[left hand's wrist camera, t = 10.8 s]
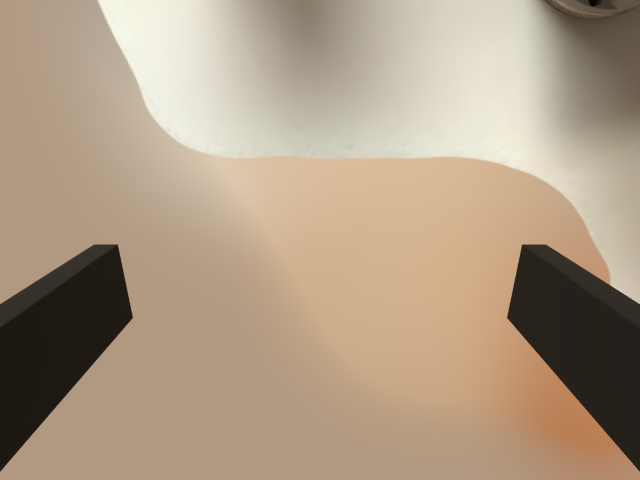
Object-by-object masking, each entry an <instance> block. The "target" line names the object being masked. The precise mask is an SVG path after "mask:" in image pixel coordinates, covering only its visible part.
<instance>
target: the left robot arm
mask: <svg viewBox="0 0 640 480" xmlns="http://www.w3.org/2000/svg"><path fill="white" fill-rule="evenodd" d="M547 1H548V2H549V3H550V4H552V5H553V6H554V7H555V8H557V9H558V10H560V11H562V12H564V13H566V14H569V15H571V16H575V17H580V18H601V17H606V16H610V15H614V14H617V13H621V12H624V11H627V10H630V9H633V8H635V7H637V6H640V0H547ZM132 318H133V316H132V311H131V306H130V302H129V297H128V292H127V287H126V282H125V277H124V273H123V268H122V263H121V258H120V253H119V248H118V245H93V246H91V247H90V248H88V249H86V250H85V251H83V252H82V253H80V254H79V255H77V256H75V257H74V258H72V259H71V260H69V261H68V262H66V263H64V264H63V265H61V266H60V267H58V268H57V269H55V270H53V271H52V272H50V273H49V274H47V275H46V276H44V277H42V278H41V279H39V280H38V281H36V282H35V283H33V284H31V285H30V286H28V287H27V288H25V289H24V290H22V291H20V292H19V293H17V294H16V295H14V296H12V297H11V298H9V299H8V300H6V301H5V302H3V303H2V304H0V471H1V470H2V469H3V468H4V467H5V465H6V464H7V463H8V462H9V461H10V460H11V458H12V457H13V456H14V455H15V454H16V453H17V451H18V450H19V449H20V448H21V447H22V446H23V445H24V443H25V442H26V441H27V440H28V439H29V438H30V436H31V435H32V434H33V433H34V432H35V431H36V429H37V428H38V427H39V426H40V425H41V424H42V422H43V421H44V420H45V419H46V418H47V417H48V416H49V414H50V413H51V412H52V411H53V410H54V409H55V407H56V406H57V405H58V404H59V403H60V402H61V401H62V399H63V398H64V397H65V396H66V395H67V394H68V392H69V391H70V390H71V389H72V388H73V387H74V385H75V384H76V383H77V382H78V381H79V380H80V379H81V377H82V376H83V375H84V374H85V373H86V372H87V370H88V369H89V368H90V367H91V366H92V365H93V363H94V362H95V361H96V360H97V359H98V358H99V356H100V355H101V354H102V353H103V352H104V351H105V349H106V348H107V347H108V346H109V345H110V344H111V343H112V341H113V340H114V339H115V338H116V337H117V336H118V334H119V333H120V332H121V331H122V330H123V329H124V328H125V326H126V325H127V324H128V323H129V322H130V321H131V319H132ZM507 318H508V319H509V321H510V322H511V323H512V324H513V325H514V326H515V328H516V329H517V330H518V331H519V332H520V333H521V334H522V336H523V337H524V338H525V339H526V340H527V341H528V343H529V344H530V345H531V346H532V347H533V348H534V350H535V351H536V352H537V353H538V354H539V355H540V357H541V358H542V359H543V360H544V361H545V362H546V363H547V365H548V366H549V367H550V368H551V369H552V370H553V372H554V373H555V374H556V375H557V376H558V377H559V378H560V380H561V381H562V382H563V383H564V384H565V385H566V387H567V388H568V389H569V390H570V391H571V392H572V394H573V395H574V396H575V397H576V398H577V399H578V401H579V402H580V403H581V404H582V405H583V406H584V407H585V409H586V410H587V411H588V412H589V413H590V414H591V416H592V417H593V418H594V419H595V420H596V421H597V422H598V424H599V425H600V426H601V427H602V428H603V429H604V431H605V432H606V433H607V434H608V435H609V436H610V438H611V439H612V440H613V441H614V442H615V443H616V445H617V446H618V447H619V448H620V449H621V450H622V451H623V453H624V454H625V455H626V456H627V457H628V458H629V460H630V461H631V462H632V463H633V464H634V465H635V467H636V468H637V469H638V470H639V471H640V304H639V303H637V302H635V301H634V300H632V299H631V298H629V297H628V296H626V295H624V294H623V293H621V292H620V291H618V290H616V289H615V288H613V287H612V286H610V285H609V284H607V283H605V282H604V281H602V280H601V279H599V278H598V277H596V276H594V275H593V274H591V273H590V272H588V271H587V270H585V269H583V268H582V267H580V266H579V265H577V264H576V263H574V262H572V261H571V260H569V259H568V258H566V257H565V256H563V255H561V254H560V253H558V252H557V251H555V250H554V249H552V248H550V247H549V246H547V245H522V248H521V253H520V258H519V263H518V268H517V272H516V277H515V282H514V287H513V292H512V297H511V302H510V306H509V311H508V316H507Z"/></svg>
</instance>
